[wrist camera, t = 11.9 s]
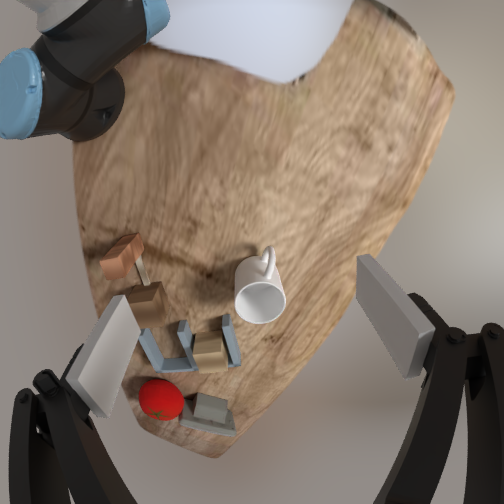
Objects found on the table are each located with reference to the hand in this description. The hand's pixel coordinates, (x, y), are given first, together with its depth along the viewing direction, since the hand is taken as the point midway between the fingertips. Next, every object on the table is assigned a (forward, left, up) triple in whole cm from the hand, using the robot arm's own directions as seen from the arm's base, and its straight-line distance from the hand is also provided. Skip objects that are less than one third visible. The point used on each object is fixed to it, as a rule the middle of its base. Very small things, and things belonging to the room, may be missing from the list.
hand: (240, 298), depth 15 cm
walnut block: (+14, -22, -35) cm, 43 cm away
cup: (+16, +1, -35) cm, 38 cm away
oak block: (+33, -12, -35) cm, 49 cm away
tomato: (+48, -30, -35) cm, 66 cm away
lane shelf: (+32, -17, -35) cm, 50 cm away
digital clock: (+57, -20, -35) cm, 70 cm away
